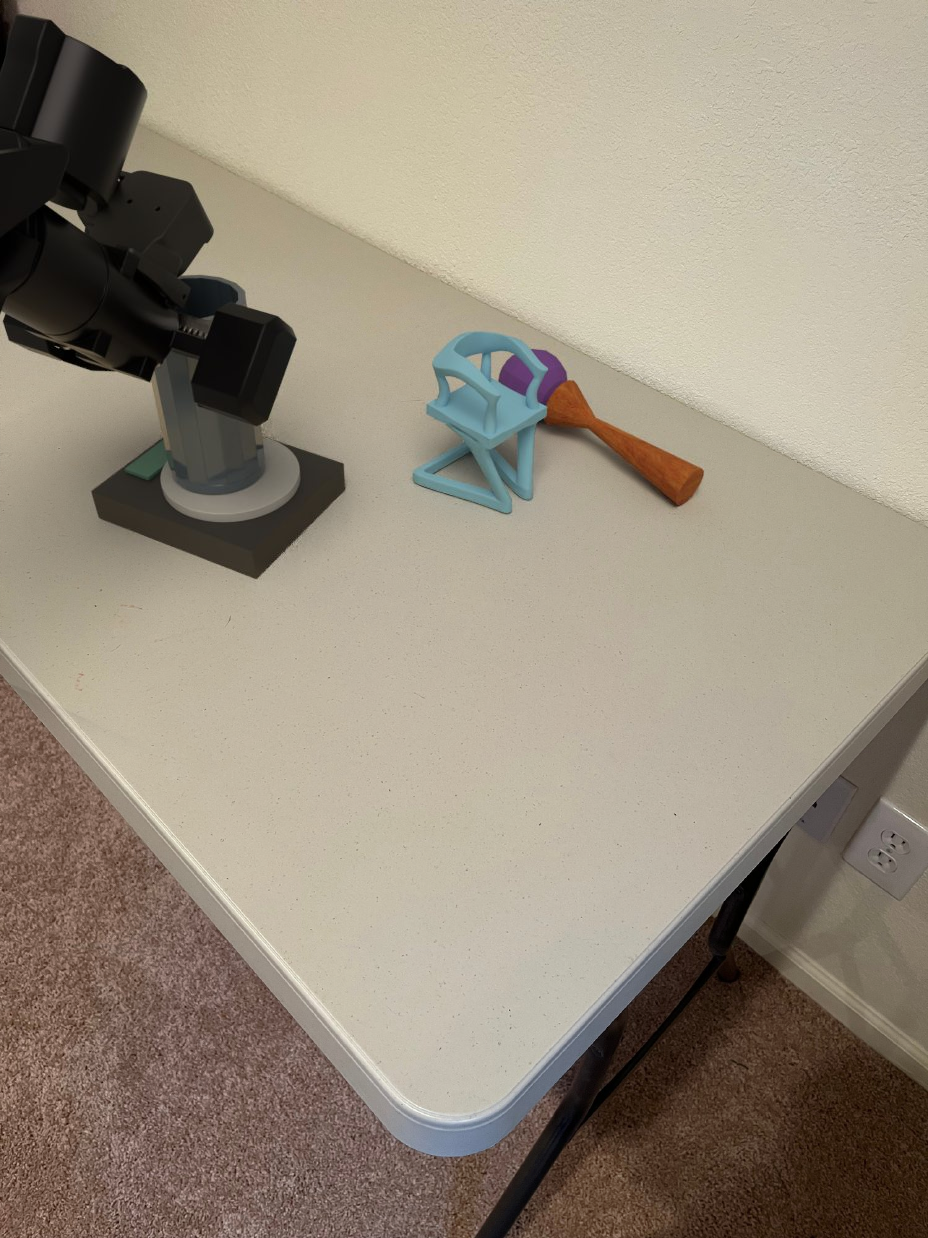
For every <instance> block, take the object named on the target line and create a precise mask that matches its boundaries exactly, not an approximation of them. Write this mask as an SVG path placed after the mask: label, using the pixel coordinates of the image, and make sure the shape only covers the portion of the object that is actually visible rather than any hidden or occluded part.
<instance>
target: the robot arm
mask: <svg viewBox="0 0 928 1238" xmlns="http://www.w3.org/2000/svg"><path fill="white" fill-rule="evenodd" d="M147 99H148V89H147V88H146V85H145V84H144V83H143V81H142V80H141V79H140V78H139V76H138V75H137V74H136V73H135V72H134V71H133V70H132V69H131V68H130V67H128V66H127V65H125V64H121V63H117V62H116V61H115V60H113V59H111V58H110V57H109V56H107V55H106V54H104V53H103V52H101V51H100V50H98V49H96V48H95V47H92V46H91V45H89V44H88V43H86V42H84V41H82V40H79V39H77V38H76V37H72V36H71V35H68V34H67V33H65V32H64V31H63V30H62V29H61V28H60V27H59V25H57V24H56V23H55V22H54V21H53V20H52V19H49V18H44V17H38V16H34V15H28V14H24V13H17V14H15V16H14V19H13V22H12V25H11V28H10V31H9V34H8V37H7V42H6V50H5V57H4V61H3V63H2V66H1V68H0V315H1V314H2V313H4V317H3V318H2V324H3V327H4V330H5V333H6V336H7V340H8V341H9V342H11V343H13V344H15V345H17V346H19V347H21V348H23V349H25V350H27V351H29V352H31V353H35V354H38V355H41V356H45V357H46V358H50V359H52V360H56V361H59V362H64V363H67V364H69V365H72V366H76V367H78V368H81V369H84V370H87V371H91V372H109V373H110V372H113V373H115V372H116V373H119V374H122V375H125V376H128V377H132V378H135V379H137V380H141V381H144V382H147V383H151V379H152V376H153V373H154V370H155V367H156V368H160V367H161V366H162V364H163V361H164V359H165V358H166V357H167V356H168V354H169V353H170V351H171V352H175V353H178V354H181V355H184V356H187V357H190V358H194V359H197V360H198V363H197V366H196V369H195V372H194V374H193V377H192V380H191V387H192V393H193V398H194V402H195V403H197V404H198V405H197V406H199V407H201V408H204V409H207V410H210V411H213V412H216V413H219V414H221V415H224V416H227V417H230V418H233V419H236V420H239V421H242V422H245V423H248V424H251V425H254V426H259V425H261V426H262V424H264V423H266V422H268V421H269V419H270V416H271V414H272V411H273V408H274V405H275V402H276V399H277V397H278V394H279V391H280V388H281V385H282V383H283V380H284V377H285V374H286V372H287V369H288V366H289V363H290V360H291V357H292V354H293V353H294V349H295V346H296V343H297V340H298V338H297V335H296V333H295V331H294V329H293V327H292V326H291V325H289V324H288V323H287V322H286V321H284V320H283V318H281V317H280V316H279V315H276V314H273V313H269V312H266V311H263V310H258V309H255V308H252V307H248V306H247V307H245V306H242V305H238V304H235V303H231V302H229V303H227V304H226V305H224V306H223V307H221V308H220V309H218V310H216V313H215V315H214V317H213V318H212V319H211V320H209V321H207V320H203V319H200V318H197V317H193V316H190V315H187V314H183V313H180V312H177V311H176V308H177V306H178V307H181V308H183V307H184V306H185V303H186V300H187V298H188V295H189V292H190V289H191V288H190V287H189V286H188V285H186V284H185V283H184V282H182V281H181V280H180V279H178V277H180V276H182V275H184V274H185V272H186V271H187V270H188V269H189V267H190V266H191V264H192V263H193V261H194V260H195V258H196V257H197V256H198V254H199V253H200V251H201V250H202V248H203V247H204V245H205V244H209V243H210V241H211V240H212V239H213V236H214V233H215V229H214V226H213V225H212V222H211V220H210V218H209V216H208V215H207V212H206V210H205V209H204V206H203V204H202V202H201V200H200V198H199V196H198V194H197V193H196V190H195V188H194V186H193V185H192V183H190V182H189V181H187V180H184V179H181V178H178V177H177V178H176V177H172V176H169V175H164V174H160V173H156V172H152V171H148V170H136V171H132V172H129V171H126V170H123V167H124V166H125V162H126V159H127V157H128V153H129V151H130V147H131V145H132V142H133V139H134V136H135V134H136V131H137V128H138V125H139V122H140V119H141V116H142V113H143V111H144V108H145V105H146V103H147ZM48 202H51V203H53V204H55V205H58V206H60V207H63V208H65V209H68V210H71V211H76V214H77V217H78V218H79V220H80V221H81V224H82V225H83V226H84V231H83V230H82V229H80V228H79V227H78V226H76V225H75V224H74V223H72V222H71V221H69V220H68V219H66V218H65V217H64V216H63V215H61V214H59V213H58V212H57V211H55V210H54V209H53V208H51V207H50V206H49V205H47V203H48ZM178 330H179V331H183V332H185V333H187V332H188V333H189V334H191V335H192V334H194V335H195V336H198V335H199V336H200V337H201V338H203V337H204V338H206V340H204V339H201V338H197V337H194V336H191V335H188V334H184V333H181V332H178Z"/></svg>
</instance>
